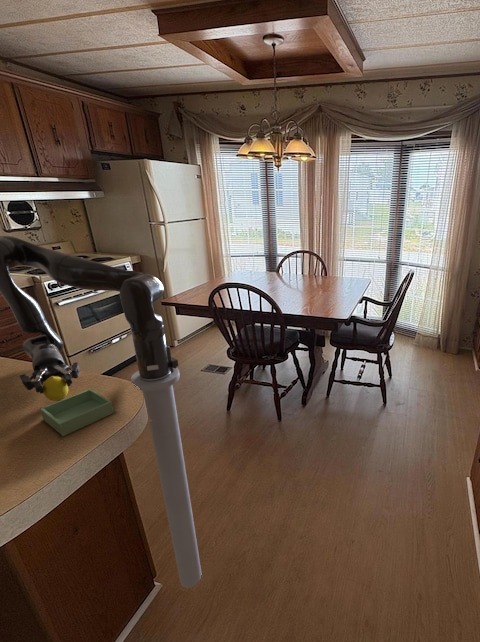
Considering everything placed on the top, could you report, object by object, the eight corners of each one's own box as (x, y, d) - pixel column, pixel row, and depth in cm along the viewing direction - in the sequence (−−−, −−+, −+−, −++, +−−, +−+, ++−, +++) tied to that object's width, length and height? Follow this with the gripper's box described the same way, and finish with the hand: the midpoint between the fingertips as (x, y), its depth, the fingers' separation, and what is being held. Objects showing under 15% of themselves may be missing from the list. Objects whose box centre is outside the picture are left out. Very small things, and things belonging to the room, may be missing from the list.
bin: (93, 399, 99) (90, 388, 97) (114, 412, 93) (111, 401, 92) (43, 420, 89) (39, 408, 88) (63, 436, 84) (59, 424, 82)
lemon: (49, 398, 98) (41, 373, 95) (72, 393, 101) (65, 370, 97) (45, 408, 94) (36, 383, 91) (69, 403, 96) (62, 379, 93)
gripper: (14, 359, 99) (16, 382, 87) (73, 346, 108) (83, 367, 96) (21, 381, 102) (25, 407, 90) (79, 367, 111) (89, 389, 99)
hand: (55, 386), depth 93 cm, fingers closed on lemon, 5 cm apart
